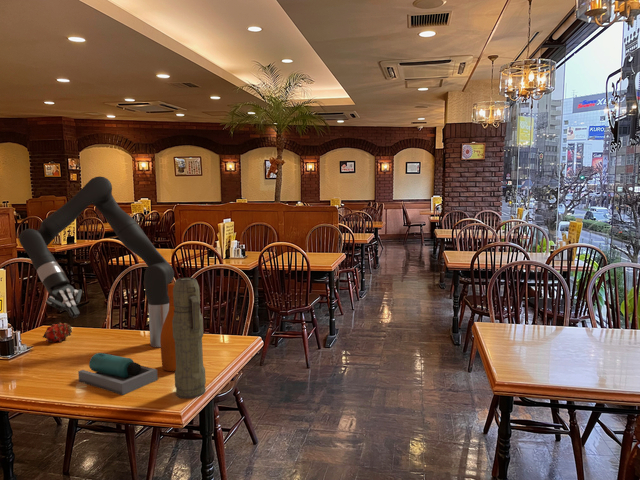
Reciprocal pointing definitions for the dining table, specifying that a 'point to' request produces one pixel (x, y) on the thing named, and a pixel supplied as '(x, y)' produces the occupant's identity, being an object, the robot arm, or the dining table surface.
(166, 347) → the wine bottle
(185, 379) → the thermos
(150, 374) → the U-rest
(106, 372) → the beverage bottle
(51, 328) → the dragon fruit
